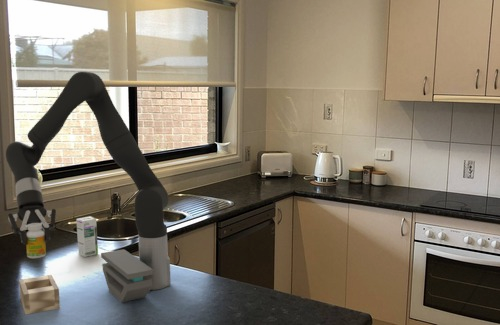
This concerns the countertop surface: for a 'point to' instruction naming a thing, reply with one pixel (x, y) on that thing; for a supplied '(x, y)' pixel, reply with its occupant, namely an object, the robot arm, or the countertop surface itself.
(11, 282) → the countertop surface
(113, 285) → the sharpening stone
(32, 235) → the supplement bottle
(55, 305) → the post socket
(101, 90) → the robot arm
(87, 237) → the syrup box
